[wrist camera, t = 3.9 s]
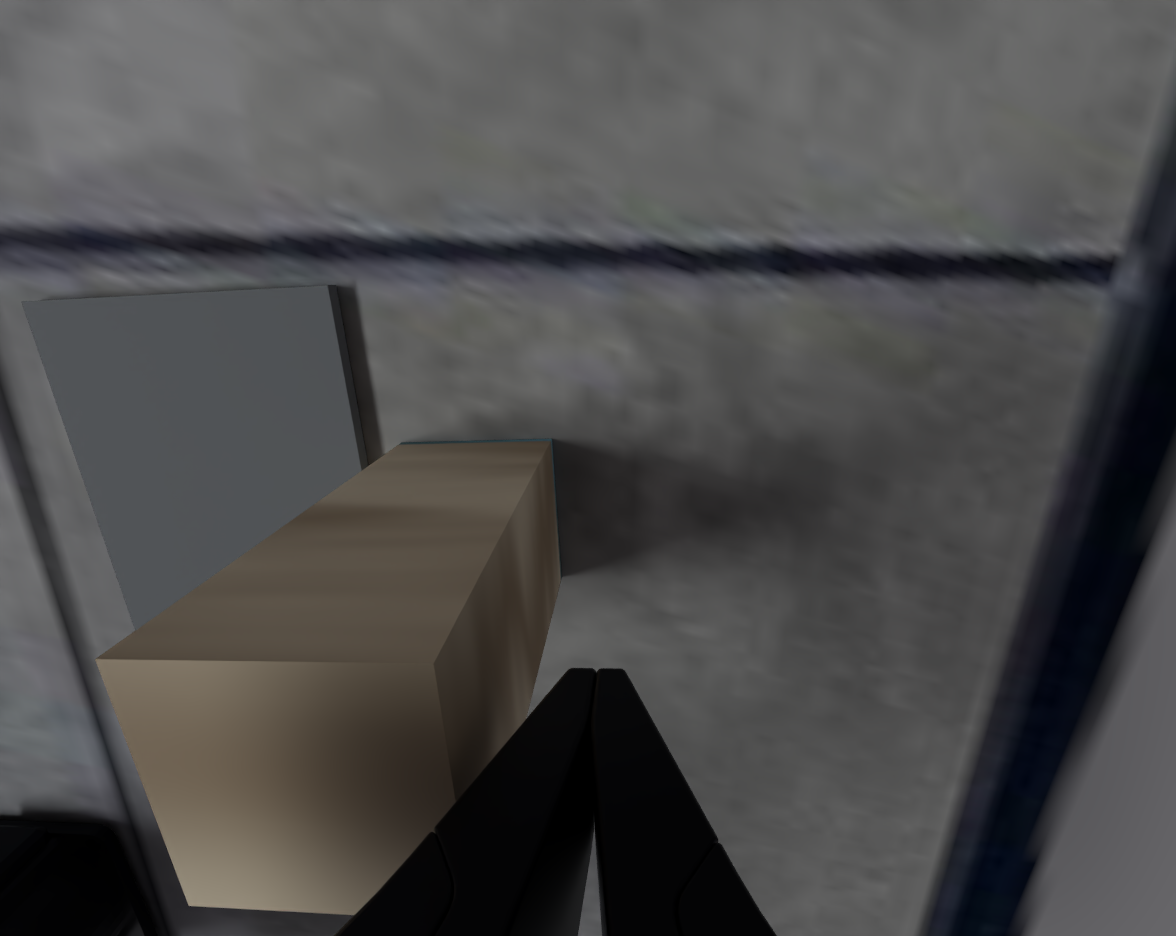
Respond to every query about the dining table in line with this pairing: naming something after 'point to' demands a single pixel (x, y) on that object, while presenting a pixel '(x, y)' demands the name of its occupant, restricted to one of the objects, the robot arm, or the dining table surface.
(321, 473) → the mat
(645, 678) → the dining table surface
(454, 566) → the oak block
